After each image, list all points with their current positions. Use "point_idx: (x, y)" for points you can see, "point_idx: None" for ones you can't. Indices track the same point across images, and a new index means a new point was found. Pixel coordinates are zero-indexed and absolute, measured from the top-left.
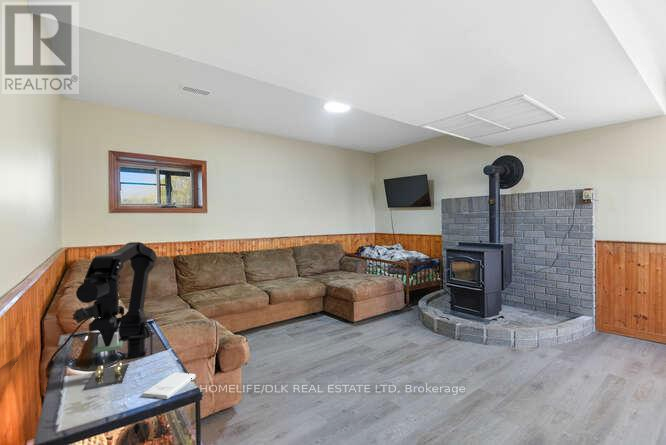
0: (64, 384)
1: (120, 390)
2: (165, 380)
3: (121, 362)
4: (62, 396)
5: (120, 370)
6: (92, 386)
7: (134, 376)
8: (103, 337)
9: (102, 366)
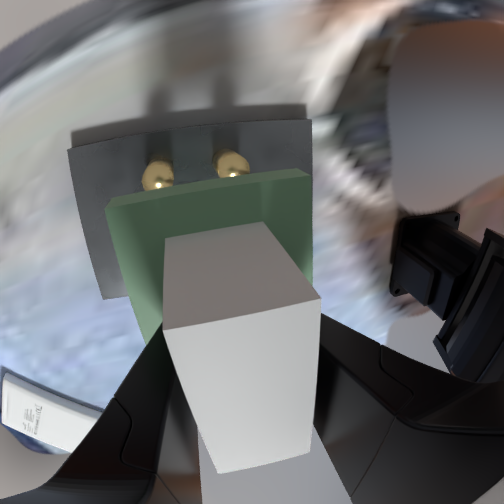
0: (198, 6)
1: (39, 304)
2: (76, 422)
3: None
4: (44, 66)
5: None
6: (72, 178)
7: None
8: (119, 401)
9: None
